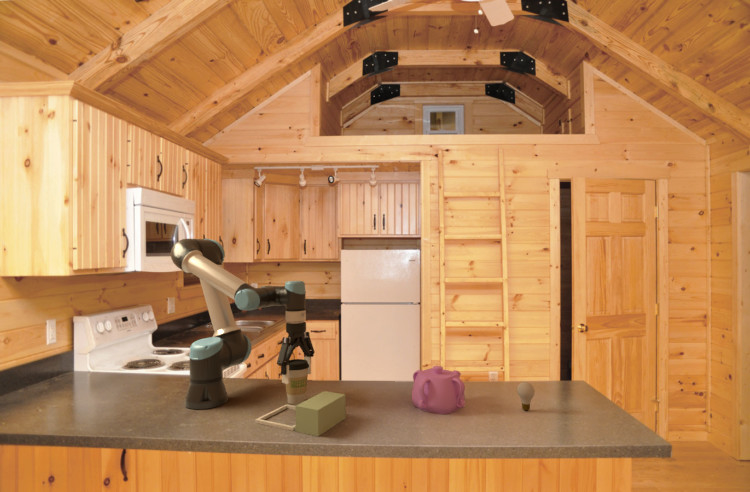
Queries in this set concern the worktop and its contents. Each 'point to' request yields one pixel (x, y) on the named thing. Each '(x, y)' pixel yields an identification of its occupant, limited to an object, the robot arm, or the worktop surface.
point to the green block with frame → (312, 414)
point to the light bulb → (525, 394)
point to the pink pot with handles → (438, 390)
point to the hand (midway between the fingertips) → (297, 378)
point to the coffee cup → (297, 381)
